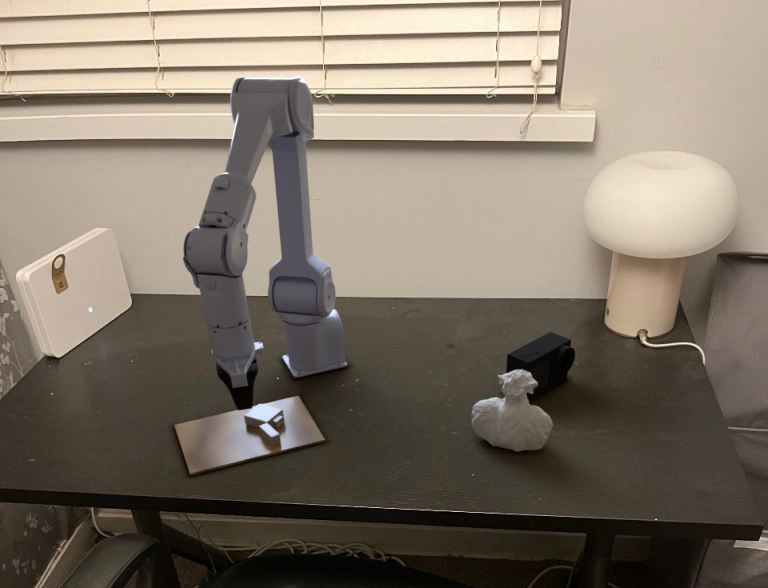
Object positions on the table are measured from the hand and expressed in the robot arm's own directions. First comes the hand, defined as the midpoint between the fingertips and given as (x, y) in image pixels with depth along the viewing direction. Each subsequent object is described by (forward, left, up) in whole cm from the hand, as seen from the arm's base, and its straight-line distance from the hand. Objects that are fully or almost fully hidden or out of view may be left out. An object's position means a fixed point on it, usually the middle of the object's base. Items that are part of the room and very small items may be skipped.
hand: (244, 407), depth 110 cm
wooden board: (0, -2, -6) cm, 6 cm away
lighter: (-1, -5, -5) cm, 7 cm away
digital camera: (-46, +5, -6) cm, 47 cm away
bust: (-35, +16, -6) cm, 39 cm away
